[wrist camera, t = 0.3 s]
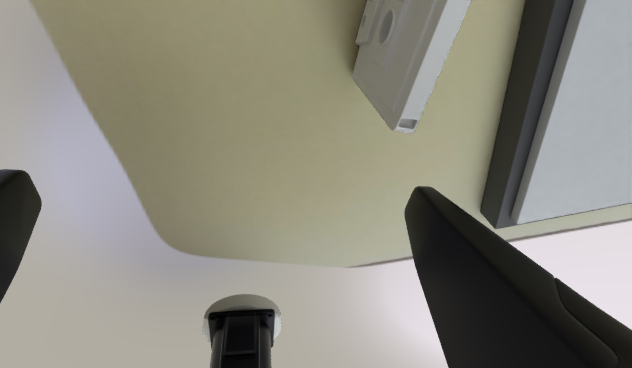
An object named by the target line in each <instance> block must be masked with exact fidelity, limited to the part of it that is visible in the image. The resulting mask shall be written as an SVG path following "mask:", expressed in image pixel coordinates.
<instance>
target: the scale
mask: <svg viewBox="0 0 632 368" xmlns="http://www.w3.org/2000/svg"><path fill="white" fill-rule="evenodd" d="M631 203H632V0H527V1H526V6H525V10H524V15H523V19H522V24H521V28H520V33H519V38H518V42H517V47H516V51H515V56H514V60H513V65H512V70H511V74H510V79H509V83H508V88H507V92H506V97H505V102H504V106H503V111H502V115H501V120H500V124H499V129H498V134H497V138H496V143H495V147H494V152H493V156H492V161H491V166H490V170H489V175H488V179H487V184H486V188H485V193H484V198H483V202H482V207H481V213H482V214H483V216H484V217H485V218H486V219H487V220H488V221H489V223H490V224H491V225H492V226H493V227H494V228H495V229H500V228H505V227H510V226H515V225H521V224H526V223H531V222H536V221H542V220H547V219H552V218H557V217H562V216H568V215H573V214H578V213H583V212H589V211H594V210H599V209H604V208H610V207H615V206H620V205H625V204H631Z"/></svg>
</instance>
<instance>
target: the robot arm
mask: <svg viewBox="0 0 632 368" xmlns="http://www.w3.org/2000/svg"><path fill="white" fill-rule="evenodd" d="M40 210H41V198H40V196H39V194H38V192H37V190H36V188H35V186H34V184H33V182H32V180H31V178H30V176H29V174H28V173H26V172H25V171H22V170H8V169H3V170H0V303H1V301H2V299H3V297H4V295H5V293H6V291H7V289H8V287H9V285H10V284H11V282H12V280H13V278H14V276H15V274H16V271H17V270H18V267H19V265H20V262H21V260H22V257H23V255H24V252H25V250H26V247H27V244H28V242H29V239H30V236H31V234H32V231H33V228H34V226H35V223H36V221H37V218H38V215H39V212H40ZM404 214H405V221H406V225H407V230H408V235H409V240H410V244H411V249H412V254H413V259H414V263H415V266H416V270H417V273H418V276H419V280H420V283H421V285H422V289H423V291H424V295H425V298H426V301H427V304H428V307H429V310H430V313H431V316H432V319H433V322H434V325H435V328H436V331H437V334H438V337H439V340H440V343H441V346H442V349H443V352H444V355H445V358H446V361H447V364H448V367H449V368H632V330H631V329H629V328H628V327H626V326H625V325H623V324H622V323H620V322H619V321H617V320H616V319H614V318H613V317H611V316H610V315H608V314H607V313H605V312H604V311H602V310H601V309H599V308H598V307H596V306H595V305H594V304H592V303H591V302H589V301H588V300H587V299H585V298H584V297H582V296H581V295H579V294H578V293H577V292H575V291H574V290H572V289H571V288H570V287H568V286H567V285H566V284H564V283H563V282H561V281H560V280H559V279H557V278H554V276H553V275H552V274H550V273H549V272H548V271H546V270H545V269H544V268H542V267H541V266H539V265H538V264H537V263H535V262H534V261H532V260H531V259H530V258H528V257H527V256H526V255H524V254H523V253H522V252H520V251H519V250H517V249H516V248H515V247H513V246H512V245H511V244H509V243H508V242H506V241H505V240H504V239H502V238H501V237H500V236H498V235H497V234H495V233H494V232H493V231H491V230H490V229H489V228H487V227H486V226H485V225H483V224H482V223H480V222H479V221H478V220H476V219H475V218H474V217H472V216H471V215H469V214H468V213H467V212H465V211H464V210H463V209H461V208H460V207H458V206H457V205H456V204H454V203H453V202H452V201H450V200H449V199H447V198H446V197H445V196H443V195H442V194H441V193H439V192H438V191H436V190H435V189H434V188H432V187H425V186H418V187H416V188H415V189H414V190H413V192H412V194H411V197H410V199H409V201H408V203H407V205H406V208H405V213H404ZM208 324H209V332H210V340H211V348H212V354H211V363H210V368H271V348H272V347H273V341H274V324H275V310H274V309H257V310H239V311H221V312H211V313H209V315H208Z"/></svg>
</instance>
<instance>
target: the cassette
mask: <svg viewBox="0 0 632 368" xmlns="http://www.w3.org/2000/svg"><path fill="white" fill-rule="evenodd" d="M470 2H471V0H367V3H366V6H365V10H364V13H363V17H362V20H361V24H360V27H359V31H358V34H357V38H356V41H355V44H357V45H359V52H358V55H357V59H356V62H355V66H354V69H353V73H352V79H353V80H354V81H355V83H356V84H357V85H358V87H359V88H360V89H361V91H362V92H363V93H364V95H365V96H366V97H367V99H368V100H369V101H370V103H371V104H372V105H373V107H374V108H375V109H376V111H377V112H378V113H379V115H380V116H381V117H382V118H383V120H384V121H385V122H386V124H387V125H388V126H389V128H390V129H391V130H393V131H399V132H404V133H410V134H411V133H413V132H414V131H415V130H416V127H417V124H418V122H419V120H420V117H421V115H422V113H423V110H424V108H425V106H426V104H427V101H428V99H429V97H430V94H431V92H432V90H433V87H434V85H435V83H436V81H437V78H438V76H439V74H440V71H441V69H442V67H443V64H444V62H445V60H446V58H447V55H448V53H449V51H450V48H451V46H452V44H453V41H454V39H455V37H456V35H457V32H458V30H459V28H460V25H461V23H462V21H463V18H464V16H465V14H466V12H467V9H468V7H469V5H470Z"/></svg>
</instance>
